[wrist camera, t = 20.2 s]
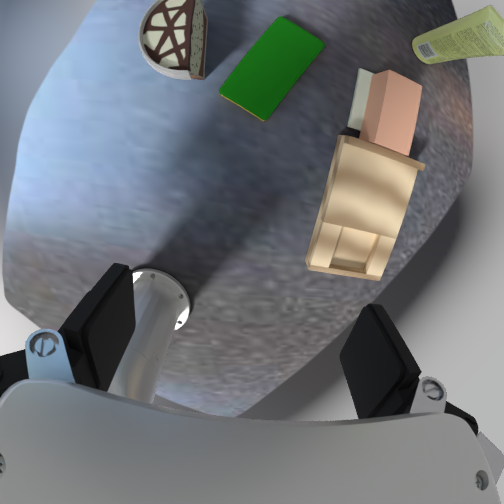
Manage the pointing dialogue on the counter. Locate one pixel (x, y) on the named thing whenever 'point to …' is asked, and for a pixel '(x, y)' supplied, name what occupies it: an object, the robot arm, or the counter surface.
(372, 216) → the open box
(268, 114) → the dish sponge
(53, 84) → the counter surface
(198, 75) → the food container
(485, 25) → the tube
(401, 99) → the block
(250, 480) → the robot arm
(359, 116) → the mat
